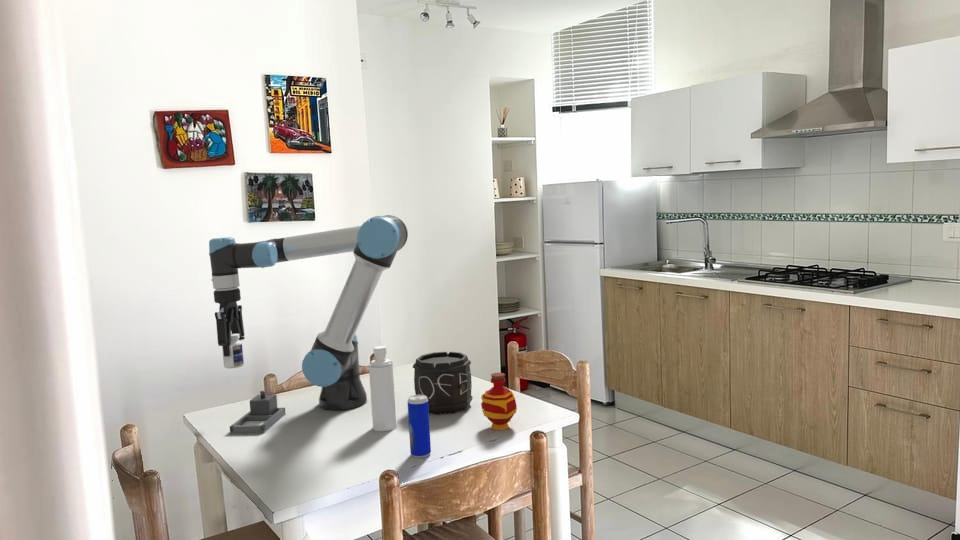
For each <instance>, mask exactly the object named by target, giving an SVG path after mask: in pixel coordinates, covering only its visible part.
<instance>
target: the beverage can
mask: <svg viewBox="0 0 960 540" xmlns="http://www.w3.org/2000/svg"><path fill="white" fill-rule="evenodd" d="M407 415H408V416H407V417H408V430H409V447H410V449H409V451H410V454H411V456H412V457H413V458H417V459H421V458H422V459H423V458H427V457H428V456H430V455H431V453H432V450H431V449H432V447H431V429H430V428H431V427H430V414H429V408H428V399H427V396H426V395H416V394H414V395H409V397H408V398H407Z"/></svg>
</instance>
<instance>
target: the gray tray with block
mask: <svg viewBox="0 0 960 540" xmlns="http://www.w3.org/2000/svg"><path fill="white" fill-rule="evenodd" d="M259 392H260V393H259V394H257V395H255V396H254V397H253V398H251V399H250V400H249V407H250V409H249V412H246V414H244V415H243V416H241V417H240V418H239V419H238V420H237V421H234V423H232V424H231V425H229V434H231V435H232V434H233V435H234V434H235V435H236V434H239V435H240V434H243V435H244V434H265V433H266V432H267V431H268V430H269V429H271V428H272V427H273V426H274V425H275V424H276V423H277V422H279V420H280V419H283V417H284V416H285V415H286V407H278V398H277V394H266V390H260V391H259Z"/></svg>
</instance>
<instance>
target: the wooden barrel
mask: <svg viewBox="0 0 960 540" xmlns="http://www.w3.org/2000/svg"><path fill="white" fill-rule="evenodd" d="M471 363H472V361H471V360H470V359H469V358H468V355H466V353H465V354H464V353H463V352H460V351H459V352H457V351H449V353H448V352H447V351H435V352H431V353H429V352H428V353H426V354H421V355H419V356H418V357H417V358H416V359H415V362H414V363H413V364H412V368H413V369H414V371H413V374H414V375H413V383H414V384H413V385H414V393H415V394H414V395H426V396H427V399H428V408H429V415H437V416H440V415H442V416H443V415H452V414H457V413H460V412H464V411H466V410H467V409H468V407H469V406H470V403H471V402H472V400H473V398H474V397H473V396H472V387H473V386H472V384H473V383H472V373H471V372H472V371H471Z"/></svg>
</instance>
